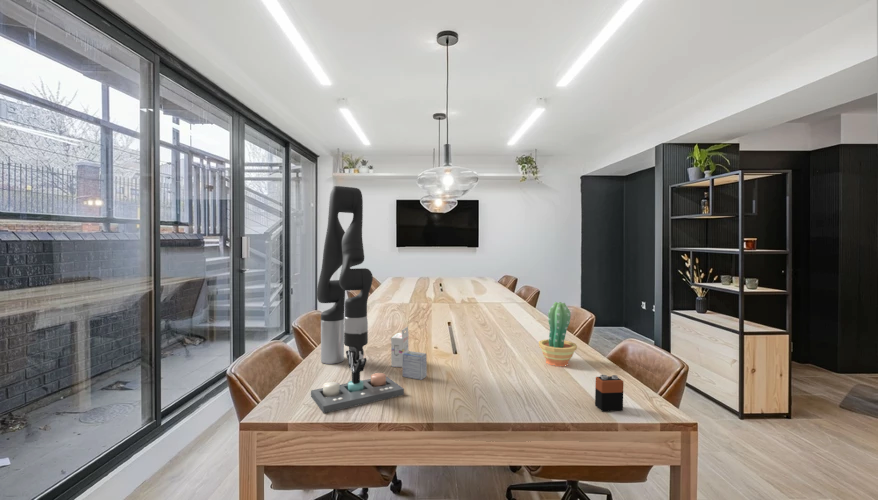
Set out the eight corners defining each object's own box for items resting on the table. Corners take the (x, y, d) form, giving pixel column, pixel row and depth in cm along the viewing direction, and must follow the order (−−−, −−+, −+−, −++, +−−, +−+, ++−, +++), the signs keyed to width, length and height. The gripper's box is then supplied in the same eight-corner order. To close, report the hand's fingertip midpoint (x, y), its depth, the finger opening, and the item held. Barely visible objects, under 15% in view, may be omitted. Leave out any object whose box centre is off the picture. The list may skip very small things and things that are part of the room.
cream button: (321, 392, 124) (321, 383, 124) (336, 389, 127) (336, 380, 127) (325, 398, 120) (325, 388, 120) (341, 395, 122) (341, 385, 122)
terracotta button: (368, 383, 133) (368, 374, 132) (382, 380, 135) (382, 372, 135) (374, 388, 128) (374, 379, 128) (388, 385, 131) (388, 376, 131)
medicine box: (426, 376, 144) (427, 353, 144) (421, 380, 140) (421, 356, 140) (408, 373, 147) (408, 350, 147) (402, 377, 143) (402, 353, 143)
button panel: (311, 396, 125) (311, 389, 125) (385, 381, 139) (385, 375, 139) (323, 413, 113) (323, 405, 113) (403, 394, 127) (404, 388, 127)
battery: (594, 405, 120) (595, 373, 119) (615, 405, 120) (616, 372, 120) (601, 412, 115) (602, 378, 115) (623, 411, 116) (624, 377, 116)
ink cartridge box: (397, 360, 163) (397, 325, 163) (408, 361, 162) (408, 325, 162) (390, 366, 155) (390, 329, 154) (402, 367, 154) (402, 330, 153)
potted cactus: (584, 364, 159) (586, 303, 158) (560, 371, 150) (561, 306, 150) (554, 355, 172) (555, 298, 171) (529, 361, 163) (530, 301, 163)
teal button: (345, 390, 128) (345, 381, 128) (360, 387, 131) (360, 378, 131) (350, 396, 124) (350, 386, 124) (365, 392, 127) (365, 383, 127)
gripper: (338, 327, 131) (338, 378, 131) (351, 335, 119) (351, 392, 120) (359, 324, 135) (359, 374, 135) (374, 332, 123) (374, 387, 124)
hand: (355, 382), depth 127 cm, fingers closed
